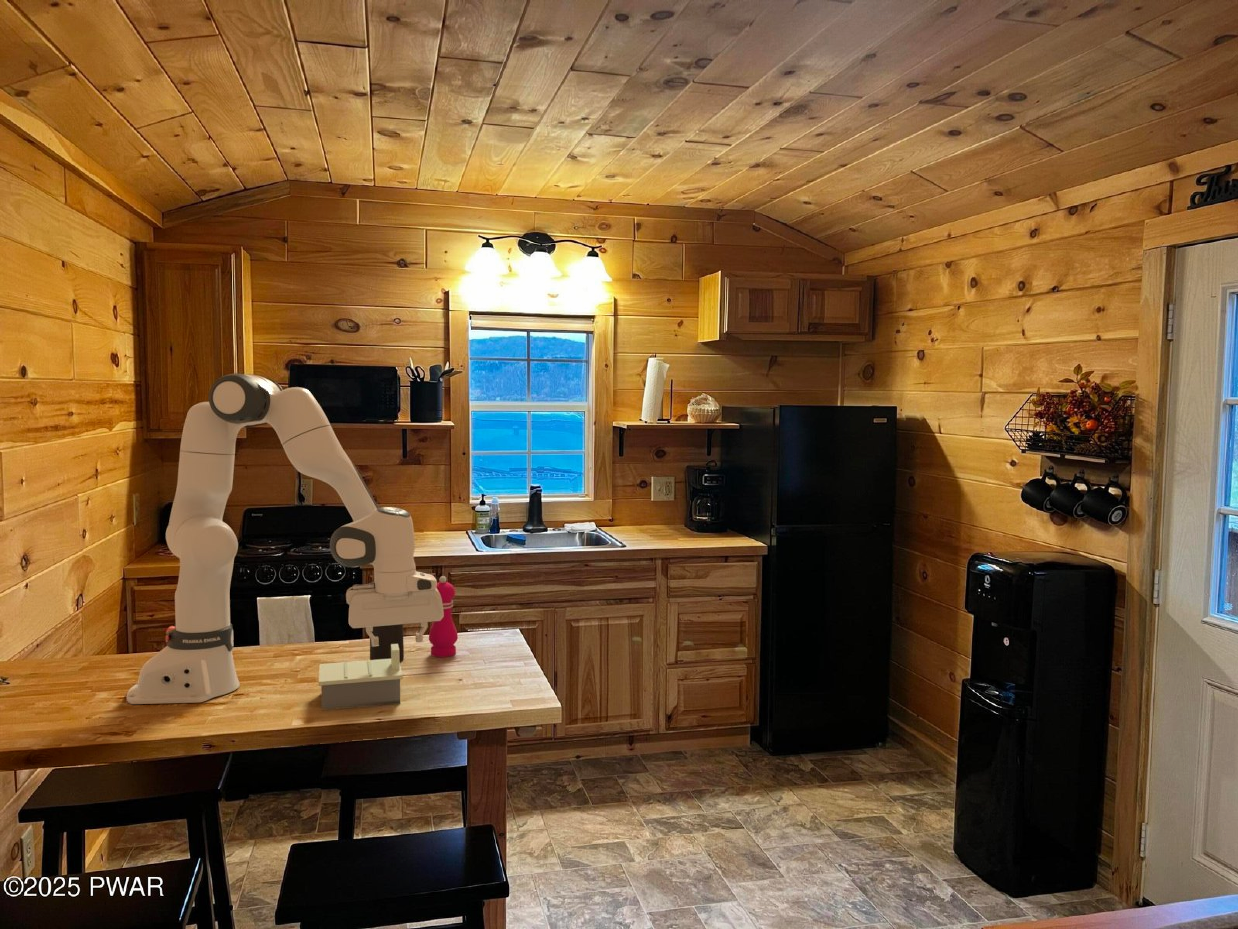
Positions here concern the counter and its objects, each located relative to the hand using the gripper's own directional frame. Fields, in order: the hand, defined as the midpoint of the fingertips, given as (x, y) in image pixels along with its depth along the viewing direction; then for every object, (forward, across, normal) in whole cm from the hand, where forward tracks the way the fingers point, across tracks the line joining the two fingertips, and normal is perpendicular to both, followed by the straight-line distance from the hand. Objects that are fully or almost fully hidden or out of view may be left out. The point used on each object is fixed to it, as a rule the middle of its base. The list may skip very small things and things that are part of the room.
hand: (397, 643), depth 203 cm
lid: (+6, -8, 0) cm, 10 cm away
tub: (+11, -8, 0) cm, 14 cm away
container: (+12, -1, +27) cm, 29 cm away
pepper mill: (+12, +13, +28) cm, 34 cm away
